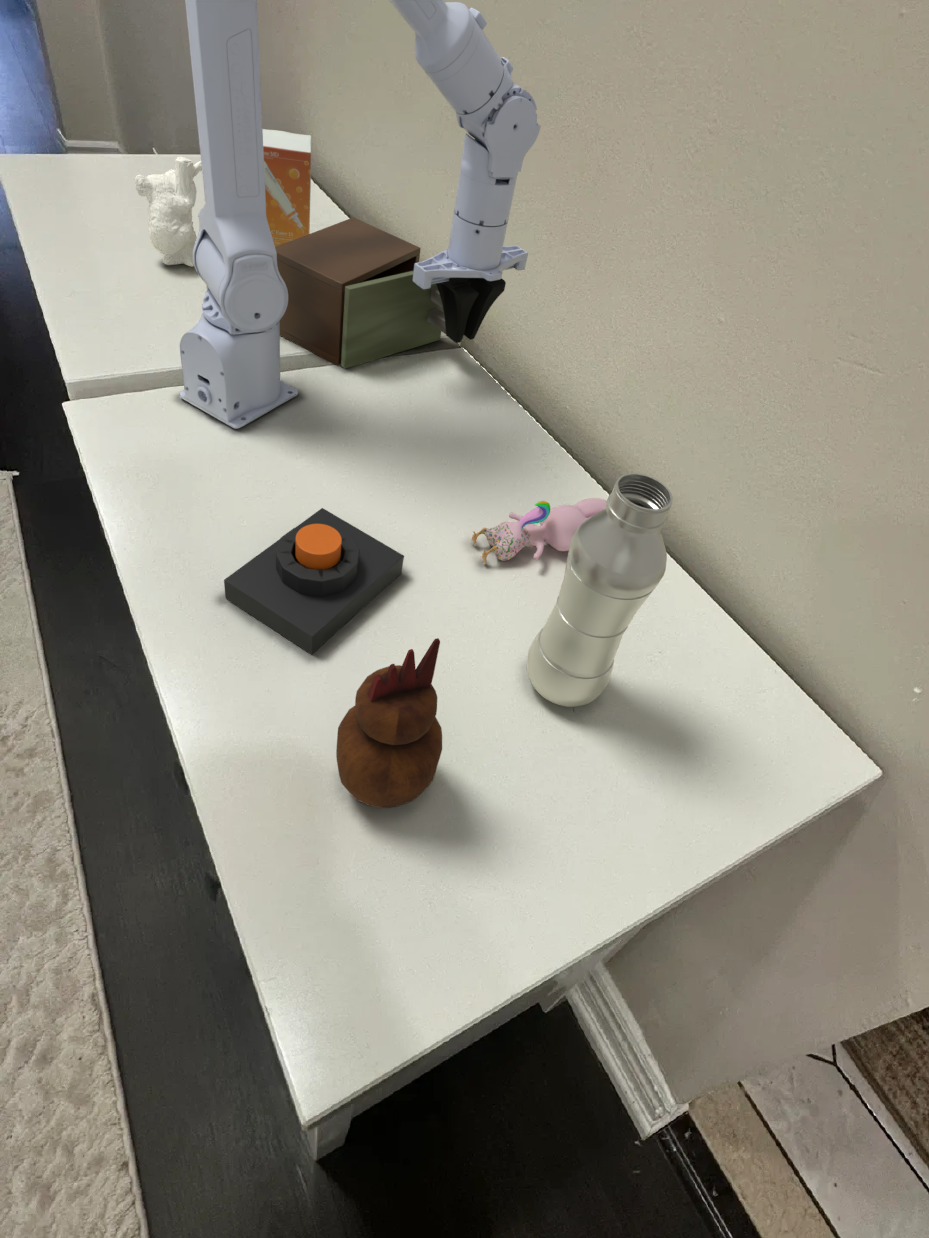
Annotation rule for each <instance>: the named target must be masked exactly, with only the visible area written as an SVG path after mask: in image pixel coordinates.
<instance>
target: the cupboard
mask: <svg viewBox="0 0 929 1238" xmlns="http://www.w3.org/2000/svg"><path fill="white" fill-rule="evenodd" d="M275 249H276V253H277V267H278V271H279V273H280V275H281V277H282V279H283V281H284V282H285V284H286V287H287V291H288V305H287V308H286V311H285V313H284V315H283V316H282V318H281V319H280V337H282V338H284V339H285V340H288V341H290V342H291V343H293V344H296V346H299V347H301V348H303V349H305V350H307V351H309V352H311V353H313V354H314V355H317V356H319V357H320V358H322V359H324V360H326V361H328V362H329V363H332V364H334V365H336V366H338V367H339V366H341V354H342V336H343V317H344V298H345V286H349V285H353V284H357V283H362V282H366V281H370V280H375V279H379V278H384V277H388V276H392V275H397V274H401V273H405V272H410V271H414V264H415V263H418V262H420V257H421V247H420V246H418V245H415V244H413V243H411V242H409V241H406V240H405V239H402V238H401V237H398V236H396V235H394V234H391V233H389V232H387V231H385V230H382V229H381V228H378V227H376V226H373V225H372V224H369V223H367V222H364V221H363V220H360V219H358V218H356V217H354V216H352V217H351V218H348V219H345V220H342V221H340V222H338V223H335V224H332V225H330V226H327V227H324V228H322V229H319V230H317V231H314V232H311V233H309V234H308V235H306V236H303V237H300V238H298V239H295V240H292V241H290V242H287V243H284V244H282V245H279V246H277V247H275Z"/></svg>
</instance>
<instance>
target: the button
mask: <svg viewBox="0 0 929 1238" xmlns="http://www.w3.org/2000/svg"><path fill="white" fill-rule="evenodd" d="M341 544H342V539H341V536H340V534H339V532H338V531H337V530H336V529H334V528H333V527H331V526H328V525H324V524H310V525H307V526H305V527H303V528H301V529H300V530H299V531H298V533H297V534H296V548H295V555H296V558H297V560H298V561H299V563H300V564H301V565H303V566H305V567H307V568H309V569H314V570H325V569H329V568H331V567H333V566H335V565H336V564H337V563H338V562H339V560H340V557H341Z"/></svg>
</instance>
